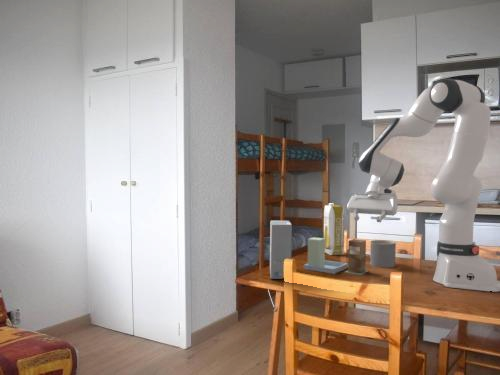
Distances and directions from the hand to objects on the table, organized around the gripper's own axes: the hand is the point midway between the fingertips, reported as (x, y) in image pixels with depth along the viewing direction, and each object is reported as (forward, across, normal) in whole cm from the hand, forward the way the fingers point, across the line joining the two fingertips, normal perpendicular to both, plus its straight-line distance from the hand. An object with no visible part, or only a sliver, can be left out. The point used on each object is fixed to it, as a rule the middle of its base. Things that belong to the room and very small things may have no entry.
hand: (367, 220), depth 179 cm
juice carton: (0, -23, +28) cm, 36 cm away
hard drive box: (+35, -22, -8) cm, 42 cm away
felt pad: (+21, 0, +6) cm, 22 cm away
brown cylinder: (+21, 0, +6) cm, 21 cm away
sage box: (+24, -15, +2) cm, 28 cm away
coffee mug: (+7, +4, +21) cm, 22 cm away
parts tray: (+22, -12, +5) cm, 26 cm away
